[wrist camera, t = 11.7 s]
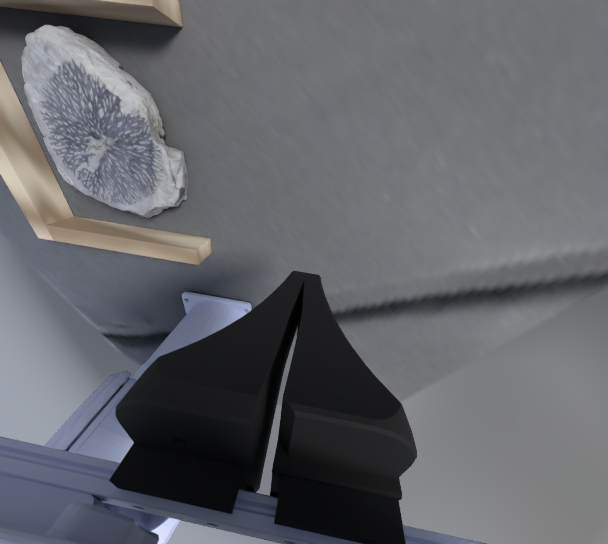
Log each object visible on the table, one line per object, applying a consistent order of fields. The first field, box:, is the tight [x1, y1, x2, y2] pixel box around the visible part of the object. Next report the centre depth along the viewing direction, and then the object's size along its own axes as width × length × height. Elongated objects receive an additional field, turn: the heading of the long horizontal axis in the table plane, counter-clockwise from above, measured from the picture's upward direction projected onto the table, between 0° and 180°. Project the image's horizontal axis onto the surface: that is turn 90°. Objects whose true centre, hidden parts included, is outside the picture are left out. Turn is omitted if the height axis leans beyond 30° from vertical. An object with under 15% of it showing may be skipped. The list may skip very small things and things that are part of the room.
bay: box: [0, 0, 212, 265], centre depth 16 cm, size 17×16×2 cm
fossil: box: [21, 25, 187, 218], centre depth 16 cm, size 11×4×10 cm
